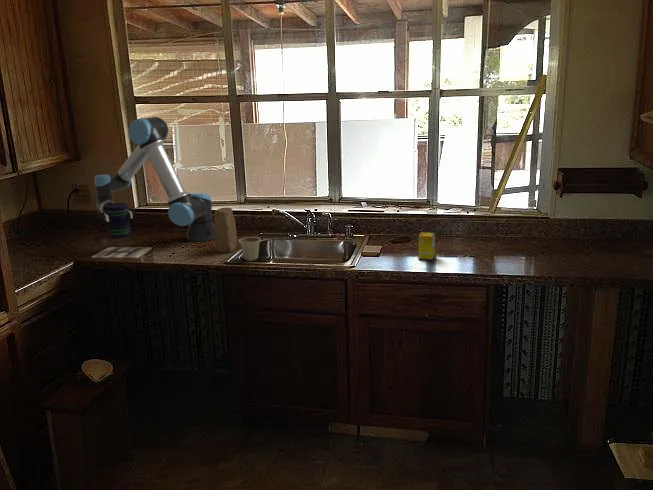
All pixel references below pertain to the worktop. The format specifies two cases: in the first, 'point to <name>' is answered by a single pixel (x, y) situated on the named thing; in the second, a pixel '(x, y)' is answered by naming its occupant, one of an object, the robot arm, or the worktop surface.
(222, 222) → the block
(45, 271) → the worktop surface
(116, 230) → the dark blue can
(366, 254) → the worktop surface
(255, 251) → the flower pot
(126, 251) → the board
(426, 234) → the supplement box
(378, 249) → the worktop surface
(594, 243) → the worktop surface
